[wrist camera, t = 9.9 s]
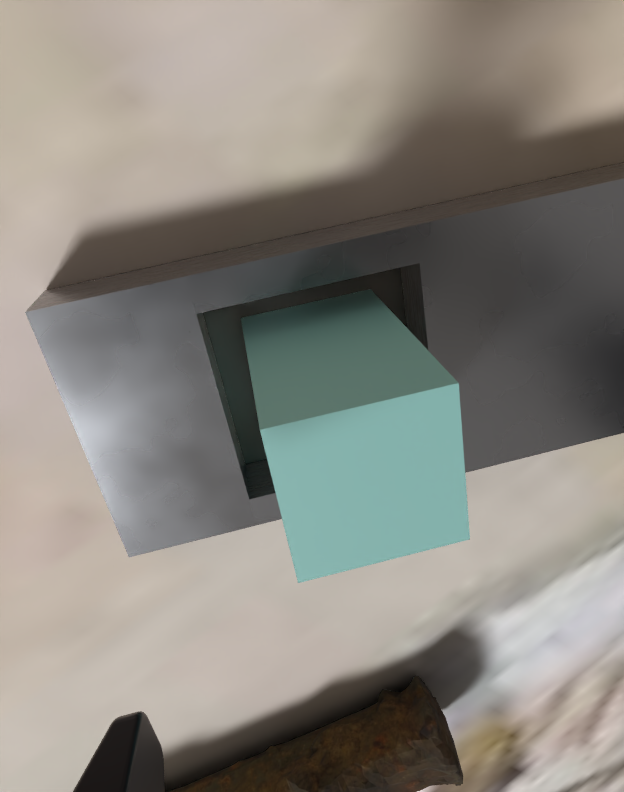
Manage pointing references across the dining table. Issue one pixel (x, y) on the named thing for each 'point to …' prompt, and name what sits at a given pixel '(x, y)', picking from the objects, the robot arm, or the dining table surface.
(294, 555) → the teal block
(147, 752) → the robot arm
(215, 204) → the dining table surface
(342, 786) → the hand tool
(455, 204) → the grey block with hole
